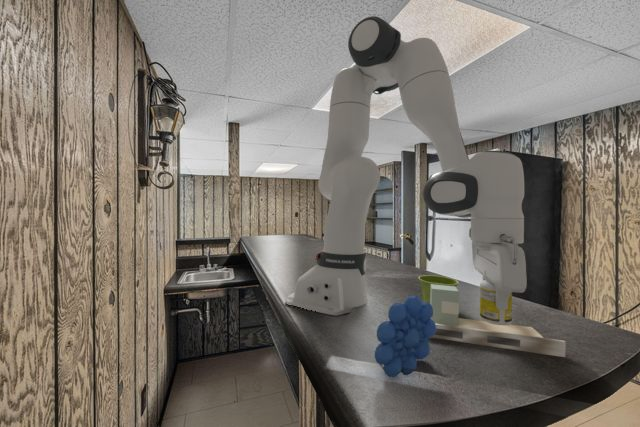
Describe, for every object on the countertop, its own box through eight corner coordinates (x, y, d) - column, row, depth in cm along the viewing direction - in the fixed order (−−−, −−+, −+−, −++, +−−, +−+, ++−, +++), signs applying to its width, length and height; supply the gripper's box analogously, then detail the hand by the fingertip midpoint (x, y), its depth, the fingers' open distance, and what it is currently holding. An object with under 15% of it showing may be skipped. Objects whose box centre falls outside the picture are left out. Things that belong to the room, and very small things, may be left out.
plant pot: (456, 311, 72) (457, 277, 72) (458, 323, 63) (459, 285, 64) (419, 305, 76) (419, 273, 76) (415, 316, 67) (416, 281, 67)
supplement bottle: (504, 316, 57) (504, 269, 57) (517, 327, 51) (518, 275, 51) (475, 314, 58) (476, 267, 58) (485, 324, 53) (486, 273, 52)
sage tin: (458, 331, 56) (459, 291, 56) (431, 327, 57) (432, 288, 57) (455, 323, 59) (455, 286, 59) (429, 320, 61) (430, 284, 61)
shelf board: (424, 344, 53) (425, 323, 53) (421, 319, 65) (421, 302, 65) (565, 366, 46) (565, 342, 46) (531, 334, 59) (532, 315, 59)
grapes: (413, 353, 49) (415, 285, 49) (445, 373, 43) (447, 296, 43) (358, 367, 44) (360, 292, 44) (386, 392, 38) (388, 305, 38)
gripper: (539, 238, 44) (538, 325, 44) (498, 230, 63) (497, 290, 63) (493, 236, 46) (492, 320, 46) (467, 229, 65) (466, 288, 65)
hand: (495, 302), depth 55 cm, fingers closed on supplement bottle, 5 cm apart
